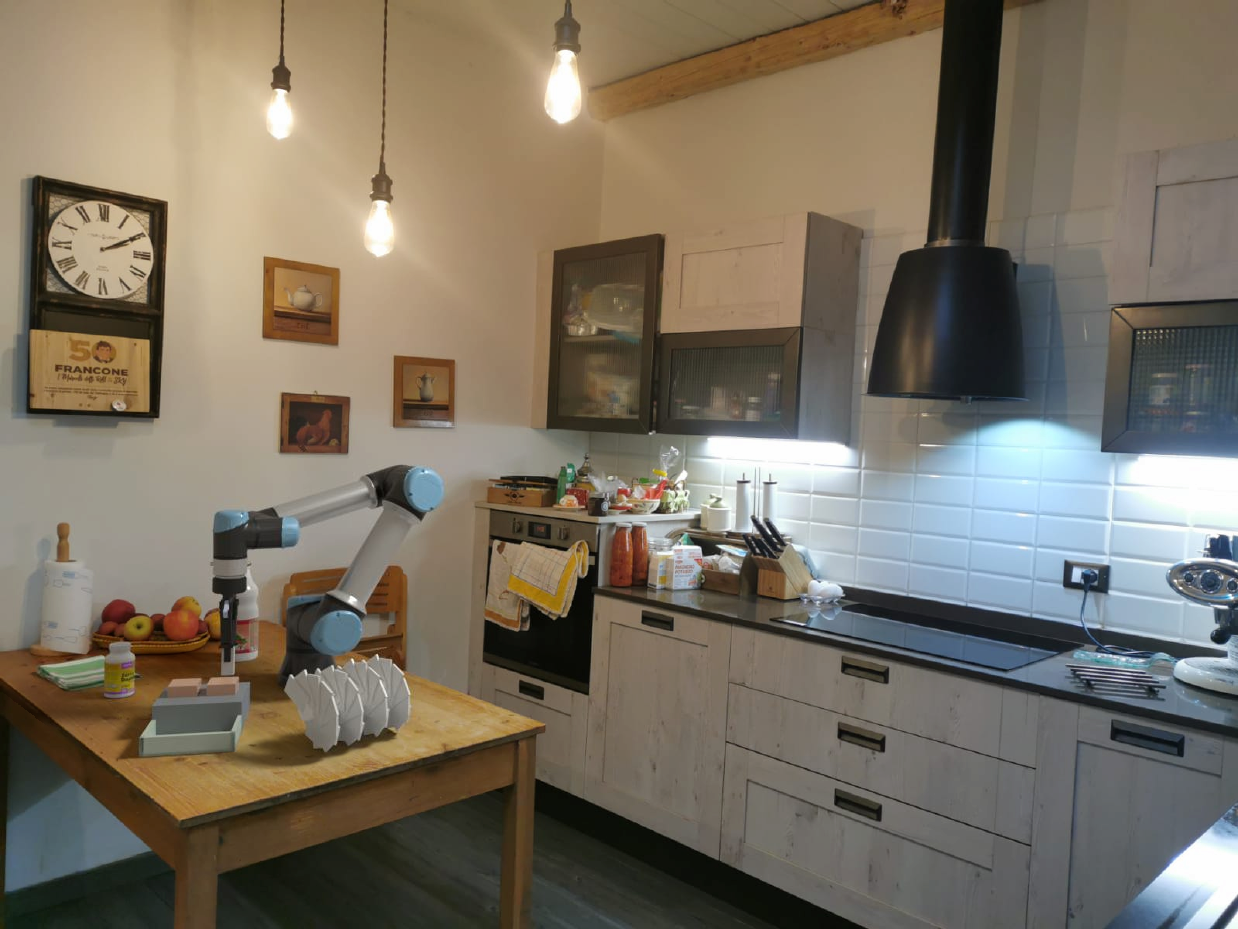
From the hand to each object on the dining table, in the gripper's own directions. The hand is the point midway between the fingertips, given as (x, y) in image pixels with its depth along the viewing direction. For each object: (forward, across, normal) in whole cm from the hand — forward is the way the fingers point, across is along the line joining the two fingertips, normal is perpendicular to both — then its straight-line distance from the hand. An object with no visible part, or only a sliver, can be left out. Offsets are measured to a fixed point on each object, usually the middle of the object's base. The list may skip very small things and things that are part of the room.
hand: (227, 674), depth 215 cm
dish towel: (+10, -36, -39) cm, 54 cm away
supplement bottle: (+9, -16, -27) cm, 33 cm away
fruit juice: (+9, -48, -3) cm, 49 cm away
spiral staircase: (+9, +25, +29) cm, 40 cm away
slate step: (+9, +9, -4) cm, 13 cm away
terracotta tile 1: (+2, +8, 0) cm, 9 cm away
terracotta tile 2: (+2, +8, -8) cm, 12 cm away
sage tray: (+9, +23, -4) cm, 25 cm away
